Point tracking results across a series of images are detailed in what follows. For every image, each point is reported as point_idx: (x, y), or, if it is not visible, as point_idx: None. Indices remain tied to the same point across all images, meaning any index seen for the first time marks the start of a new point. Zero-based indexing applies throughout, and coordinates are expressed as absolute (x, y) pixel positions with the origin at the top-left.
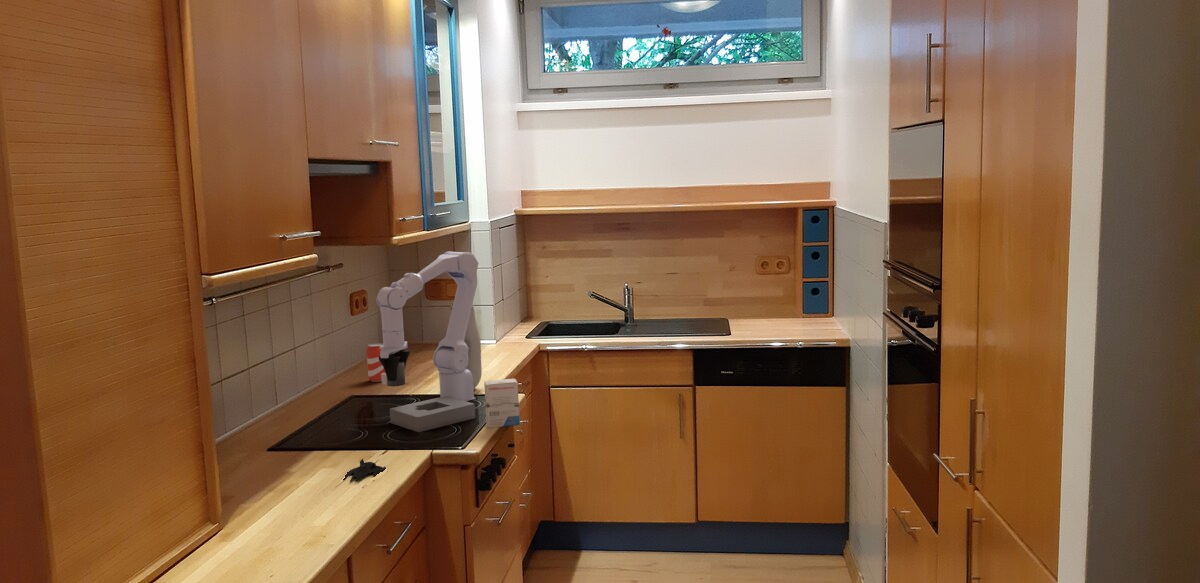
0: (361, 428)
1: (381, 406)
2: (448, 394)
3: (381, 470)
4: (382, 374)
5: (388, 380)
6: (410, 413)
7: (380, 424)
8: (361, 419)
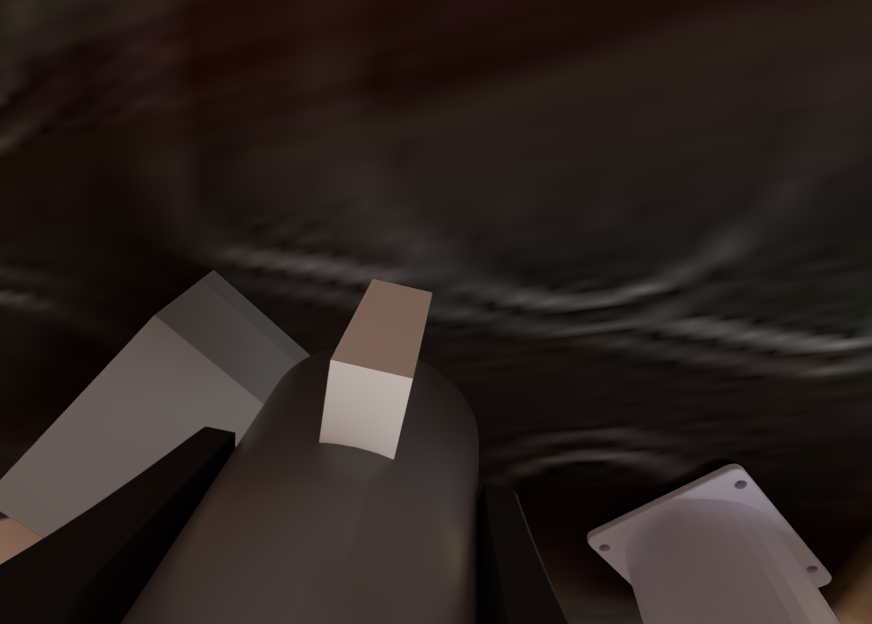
0: (53, 81)
1: (748, 94)
2: (644, 582)
3: None
4: (330, 376)
5: (193, 436)
6: (50, 459)
7: (174, 207)
8: (308, 4)
